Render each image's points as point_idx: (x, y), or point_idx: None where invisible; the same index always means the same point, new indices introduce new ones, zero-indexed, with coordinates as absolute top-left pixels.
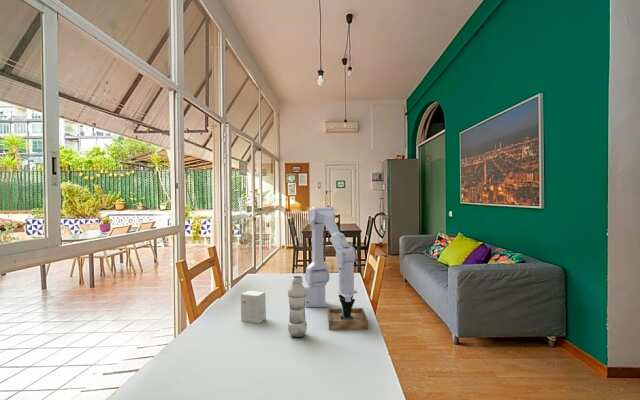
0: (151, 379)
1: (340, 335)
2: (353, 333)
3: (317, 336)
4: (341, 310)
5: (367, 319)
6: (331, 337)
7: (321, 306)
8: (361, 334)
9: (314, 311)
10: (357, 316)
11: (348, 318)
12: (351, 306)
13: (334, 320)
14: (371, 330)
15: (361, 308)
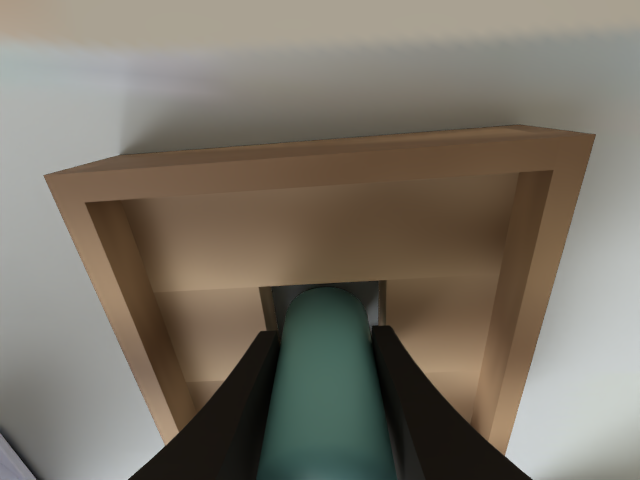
0: None
1: (596, 348)
2: (589, 263)
3: (567, 452)
4: (172, 384)
5: (565, 138)
6: (611, 394)
7: (13, 454)
8: (637, 199)
9: (124, 475)
10: (280, 235)
11: (365, 324)
12: (482, 444)
13: (506, 446)
14: (565, 86)
15: (69, 192)
